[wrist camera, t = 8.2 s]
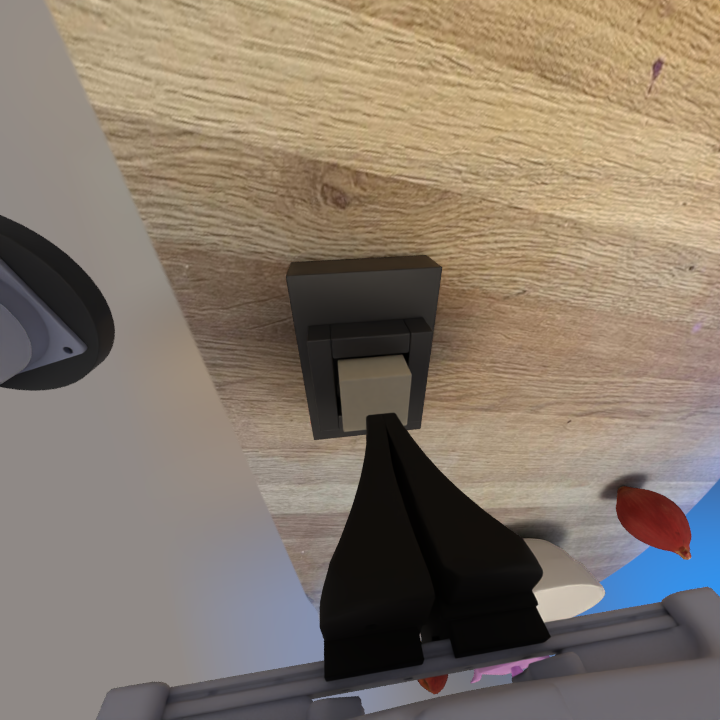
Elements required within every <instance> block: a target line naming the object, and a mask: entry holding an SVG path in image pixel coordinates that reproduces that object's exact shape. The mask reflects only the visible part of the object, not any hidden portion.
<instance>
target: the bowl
mask: <svg viewBox="0 0 720 720" xmlns="http://www.w3.org/2000/svg"><path fill="white" fill-rule="evenodd" d="M523 539H524V541H525V542H526V544H527V545H528V547H529V548H530V549H531V551H532V552H533V554H534V555H535V557H536V559H537V560H538V562H539V564H540V566H541V567H542V569H543V576H542V578H541V580H540V581H539V582H538V584H537V585H536V586H535V587H534V588H533V590H532V591H533V593H534V595H535V597H536V599H537V601H538V605H537V606H536V608H537V610H538V612H539V614H540V616H541V618H542V620H543V622H549V621H555V620H561V619H566V618H571V617H573V616H576V615H578V614H580V613H582V612H584V611H586V610H588V609H589V608H591V607H593V606H594V605H595V604H597V603H598V602H600V601H601V599H602V598H603V597H604V595H605V591H604V588H603V586H602V585H601V584H600V583H599V582H598V581H597V580H596V579H595V577H594V576H593V575H592V574H591V573H590V572H589V571H588V570H587V568H586V567H585V566H584V565H583V564H582V563H580V562H579V561H576V560H574V559H573V558H572V557H571V556H570V555H569V554H568V553H567V552H566V551H564V550H563V549H561V548H560V547H558V546H556V545H554V544H552V543H550V542H548V541H546V540H542V539H531V538H523Z"/></svg>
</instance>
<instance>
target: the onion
mask: <svg viewBox="0 0 720 720" xmlns="http://www.w3.org/2000/svg"><path fill="white" fill-rule="evenodd" d="M616 512H617V516H618V519H619V521H620V522H621V524H622V526H623V527H624V528H625V529H626V530H627V531H628V532H629V533H630V534H631V535H633V536H634V537H635V538H636V539H638V540H640V541H642V542H643V543H646V544H648V545H650V546H653V547H655V548H658V549H662V550H667V551H672V552H674V553H676V554H679V555H680V556H681V557H682V558H683V559H686V560H688V559H690V558H691V554H690V547H689V544H690V541H691V531H690V527H689V523H688V521H687V519H686V516H685V514H684V513H683V512H682V510H681V509H680V508H679V507H678V506H677V505H676V504H675V503H674V502H673V501H671V500H670V499H668V498H667V497H665V496H663V495H661V494H658V493H656V492H653V491H650V490H645V489H640V488H632V487H627V486H623V487H620V488H619V489H618V491H617V504H616Z"/></svg>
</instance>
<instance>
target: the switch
mask: <svg viewBox="0 0 720 720" xmlns="http://www.w3.org/2000/svg"><path fill="white" fill-rule="evenodd" d="M338 372H339V384H340V396H341V408H342V420H343V430H344V432H348V431H357V430H366V417H367V416H368V415H374V414H383V413H393V412H394V413H396V414H397V416H398V418H399V419H400V421H401V423H402V424H403V426H405V425H407V419H408V408H409V398H410V387H411V377H412V374H411V372H410V370H409V368H408V366H407V363H406V361H405V359H404V357H403V355H389V356H377V357H365V358H353V359H341V360H338Z"/></svg>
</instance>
